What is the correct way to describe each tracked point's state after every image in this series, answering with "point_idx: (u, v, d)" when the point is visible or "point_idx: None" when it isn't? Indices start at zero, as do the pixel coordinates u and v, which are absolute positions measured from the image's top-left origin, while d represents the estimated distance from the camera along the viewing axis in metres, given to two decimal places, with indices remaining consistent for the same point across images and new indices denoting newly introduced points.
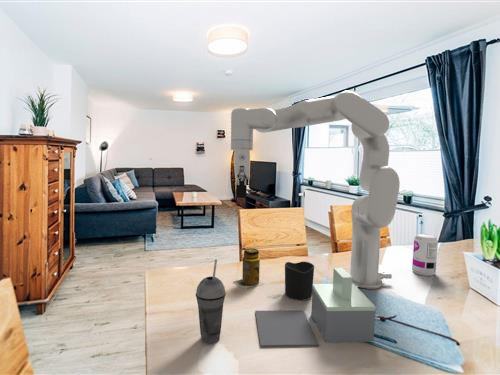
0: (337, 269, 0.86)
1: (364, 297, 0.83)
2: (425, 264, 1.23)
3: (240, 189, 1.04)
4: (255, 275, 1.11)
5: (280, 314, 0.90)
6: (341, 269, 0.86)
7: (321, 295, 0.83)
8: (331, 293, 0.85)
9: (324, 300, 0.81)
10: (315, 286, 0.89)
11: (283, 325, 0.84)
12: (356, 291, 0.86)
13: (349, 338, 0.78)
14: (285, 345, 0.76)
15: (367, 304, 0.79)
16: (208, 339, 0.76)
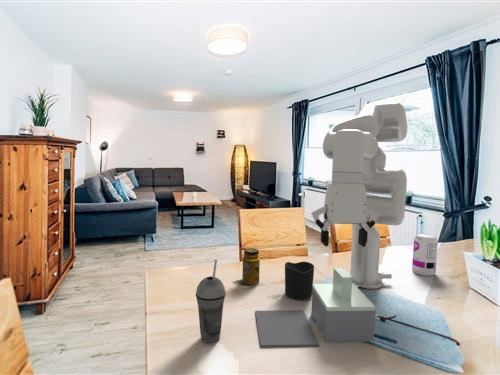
0: (337, 269, 0.86)
1: (364, 297, 0.83)
2: (425, 264, 1.23)
3: None
4: (255, 275, 1.11)
5: (280, 314, 0.90)
6: (341, 269, 0.86)
7: (321, 295, 0.83)
8: (331, 293, 0.85)
9: (324, 300, 0.81)
10: (315, 286, 0.89)
11: (283, 325, 0.84)
12: (356, 291, 0.86)
13: (349, 338, 0.78)
14: (285, 345, 0.76)
15: (367, 304, 0.79)
16: (208, 339, 0.76)
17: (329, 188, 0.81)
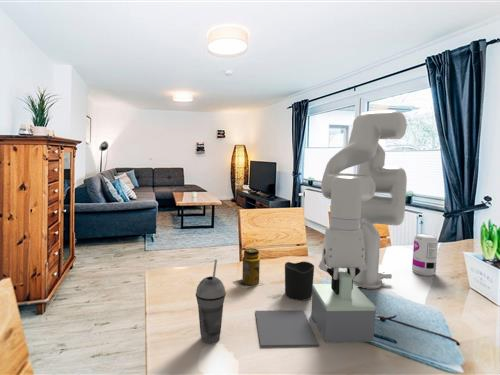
0: None
1: (364, 297, 0.83)
2: (425, 264, 1.23)
3: None
4: (255, 275, 1.11)
5: (280, 314, 0.90)
6: (341, 269, 0.86)
7: (321, 295, 0.83)
8: (331, 293, 0.85)
9: (324, 300, 0.81)
10: (315, 286, 0.89)
11: (283, 325, 0.84)
12: (356, 291, 0.86)
13: (349, 338, 0.78)
14: (285, 345, 0.76)
15: (367, 304, 0.79)
16: (208, 339, 0.76)
17: (327, 232, 0.82)
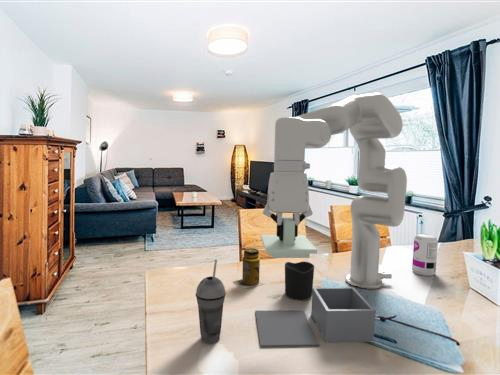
0: (283, 216, 0.84)
1: (309, 243, 0.80)
2: (425, 264, 1.23)
3: None
4: (255, 275, 1.11)
5: (280, 314, 0.90)
6: (287, 216, 0.84)
7: (265, 242, 0.81)
8: (276, 240, 0.82)
9: (266, 245, 0.78)
10: (262, 236, 0.87)
11: (283, 325, 0.84)
12: (303, 239, 0.84)
13: (349, 338, 0.78)
14: (285, 345, 0.76)
15: (309, 248, 0.76)
16: (208, 339, 0.76)
17: (270, 176, 0.80)
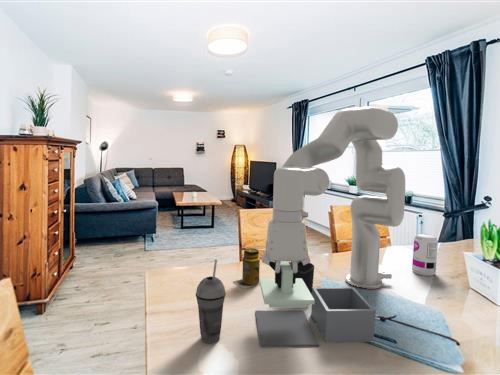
0: (281, 263, 0.85)
1: (307, 291, 0.81)
2: (425, 264, 1.23)
3: None
4: (255, 275, 1.11)
5: (280, 314, 0.90)
6: (285, 263, 0.85)
7: (263, 289, 0.82)
8: (274, 287, 0.84)
9: (264, 293, 0.79)
10: (261, 281, 0.88)
11: (283, 325, 0.84)
12: (301, 285, 0.85)
13: (349, 338, 0.78)
14: (285, 345, 0.76)
15: (307, 298, 0.78)
16: (208, 339, 0.76)
17: (269, 225, 0.81)
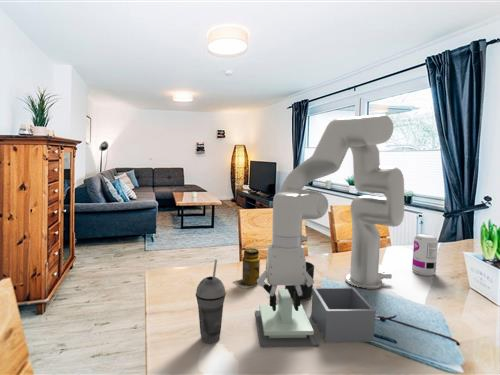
0: (281, 291, 0.86)
1: (306, 320, 0.82)
2: (425, 264, 1.23)
3: None
4: (255, 275, 1.11)
5: None
6: (285, 291, 0.86)
7: (263, 318, 0.83)
8: (274, 315, 0.85)
9: (264, 323, 0.80)
10: (261, 308, 0.89)
11: None
12: (301, 313, 0.86)
13: (349, 338, 0.78)
14: (285, 345, 0.76)
15: (306, 328, 0.78)
16: (208, 339, 0.76)
17: (269, 249, 0.82)
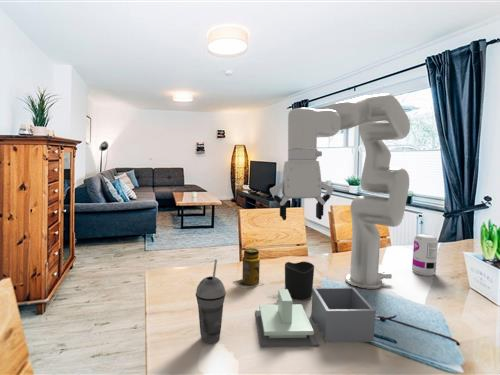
0: (281, 291, 0.86)
1: (306, 320, 0.82)
2: (425, 264, 1.23)
3: None
4: (255, 275, 1.11)
5: None
6: (285, 291, 0.86)
7: (263, 318, 0.83)
8: (274, 315, 0.85)
9: (264, 323, 0.80)
10: (261, 308, 0.89)
11: None
12: (301, 313, 0.86)
13: (349, 338, 0.78)
14: (285, 345, 0.76)
15: (306, 328, 0.78)
16: (208, 339, 0.76)
17: (285, 164, 0.85)
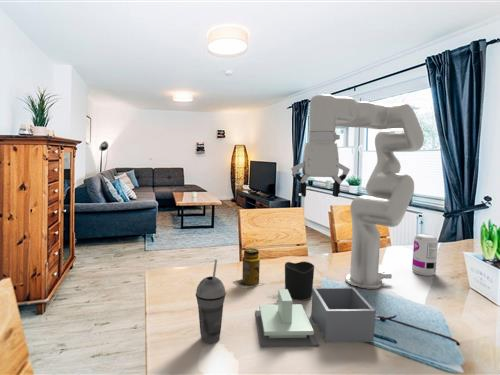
0: (281, 291, 0.86)
1: (306, 320, 0.82)
2: (425, 264, 1.23)
3: None
4: (255, 275, 1.11)
5: None
6: (285, 291, 0.86)
7: (263, 318, 0.83)
8: (274, 315, 0.85)
9: (264, 323, 0.80)
10: (261, 308, 0.89)
11: None
12: (301, 313, 0.86)
13: (349, 338, 0.78)
14: (285, 345, 0.76)
15: (306, 328, 0.78)
16: (208, 339, 0.76)
17: (306, 146, 0.94)
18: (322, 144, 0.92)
